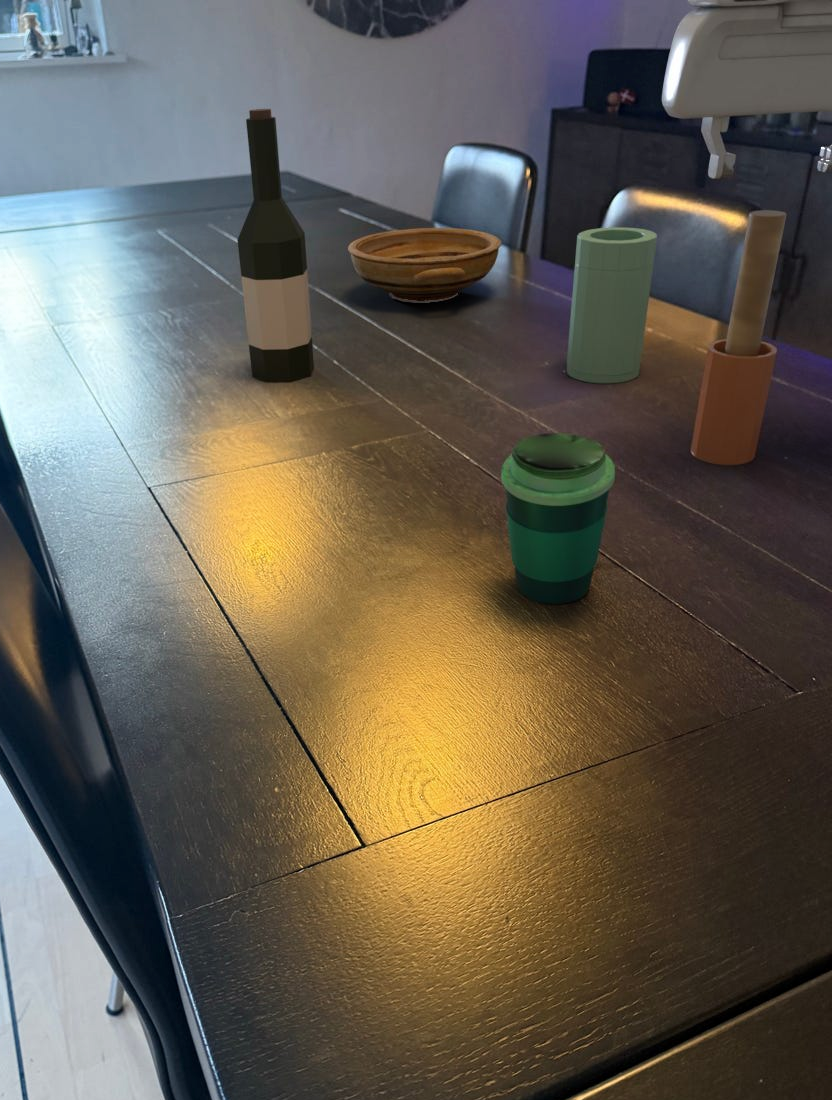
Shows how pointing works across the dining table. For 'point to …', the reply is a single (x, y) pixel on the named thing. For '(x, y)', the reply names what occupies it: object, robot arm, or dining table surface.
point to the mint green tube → (610, 303)
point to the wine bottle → (273, 267)
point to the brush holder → (732, 404)
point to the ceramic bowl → (424, 261)
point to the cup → (556, 513)
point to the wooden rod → (754, 282)
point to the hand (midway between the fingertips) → (774, 174)
